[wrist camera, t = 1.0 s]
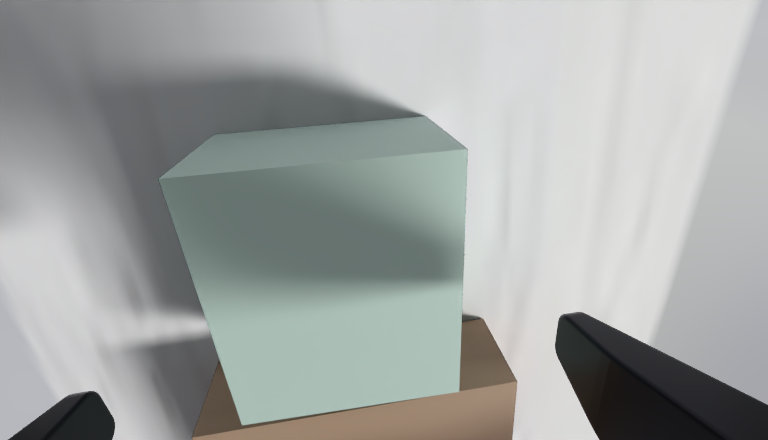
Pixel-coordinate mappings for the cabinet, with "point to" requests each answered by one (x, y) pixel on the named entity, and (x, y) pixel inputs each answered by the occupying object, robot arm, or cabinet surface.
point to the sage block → (327, 261)
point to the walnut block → (391, 407)
